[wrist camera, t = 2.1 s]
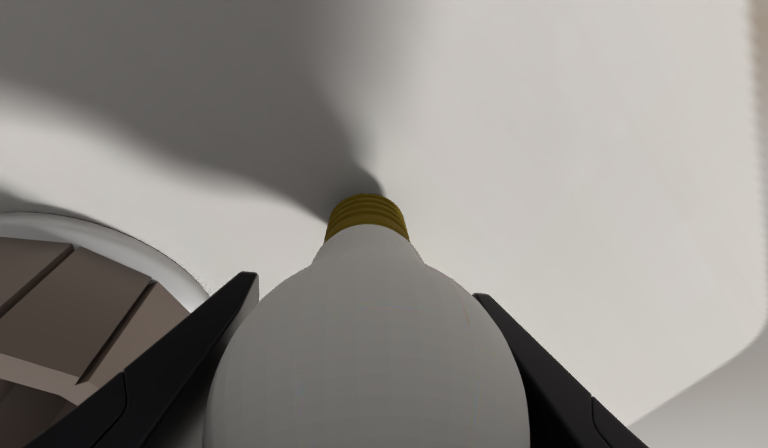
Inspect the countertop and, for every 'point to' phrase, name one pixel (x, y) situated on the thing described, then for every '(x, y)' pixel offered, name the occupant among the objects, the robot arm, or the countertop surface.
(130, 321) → the socket
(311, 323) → the light bulb
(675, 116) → the countertop surface
